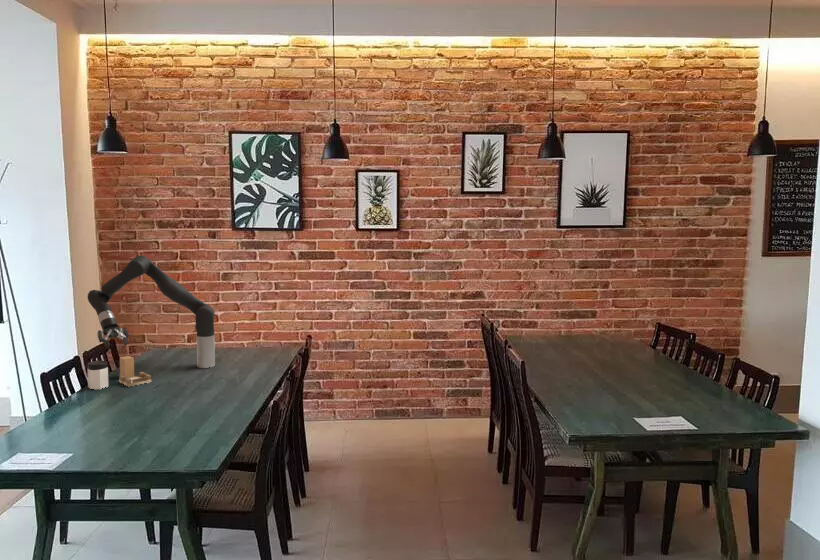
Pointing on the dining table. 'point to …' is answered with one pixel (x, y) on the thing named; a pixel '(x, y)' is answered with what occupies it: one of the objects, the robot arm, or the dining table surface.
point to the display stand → (135, 379)
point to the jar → (97, 374)
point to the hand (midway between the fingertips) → (117, 346)
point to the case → (127, 366)
